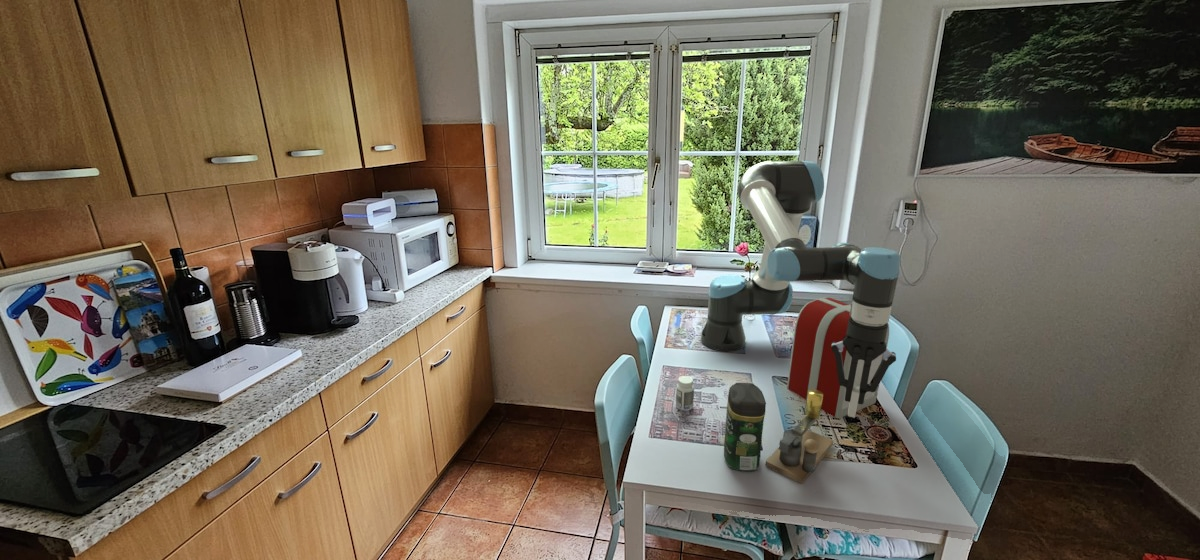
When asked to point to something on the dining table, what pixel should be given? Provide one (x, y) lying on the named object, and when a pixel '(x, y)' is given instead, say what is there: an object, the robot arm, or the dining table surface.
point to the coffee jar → (744, 426)
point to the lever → (803, 422)
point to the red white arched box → (825, 356)
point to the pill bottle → (685, 393)
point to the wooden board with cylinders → (801, 457)
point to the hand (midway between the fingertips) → (851, 413)
